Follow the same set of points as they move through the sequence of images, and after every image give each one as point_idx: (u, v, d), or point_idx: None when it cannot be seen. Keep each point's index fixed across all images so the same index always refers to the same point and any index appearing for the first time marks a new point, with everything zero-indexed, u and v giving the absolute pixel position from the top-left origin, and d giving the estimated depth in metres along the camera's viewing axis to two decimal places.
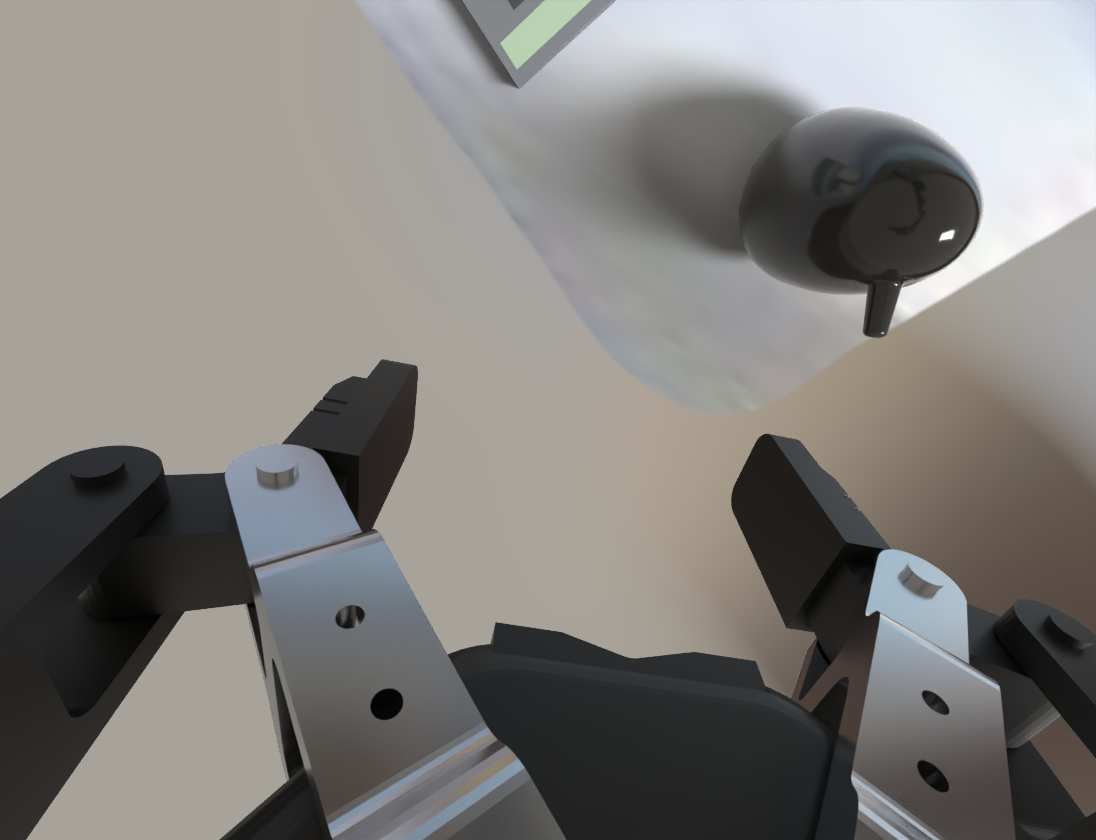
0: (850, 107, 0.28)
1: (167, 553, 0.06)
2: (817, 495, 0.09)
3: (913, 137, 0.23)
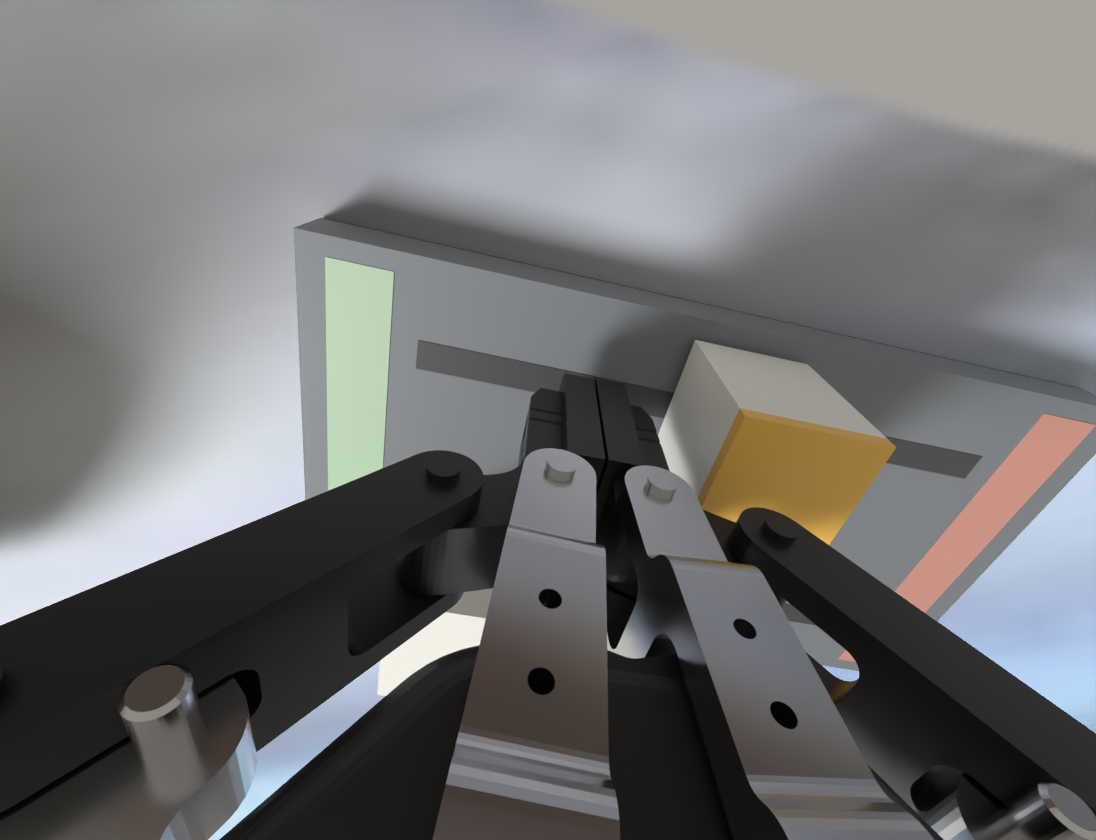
0: None
1: (489, 540, 0.07)
2: (608, 425, 0.10)
3: None
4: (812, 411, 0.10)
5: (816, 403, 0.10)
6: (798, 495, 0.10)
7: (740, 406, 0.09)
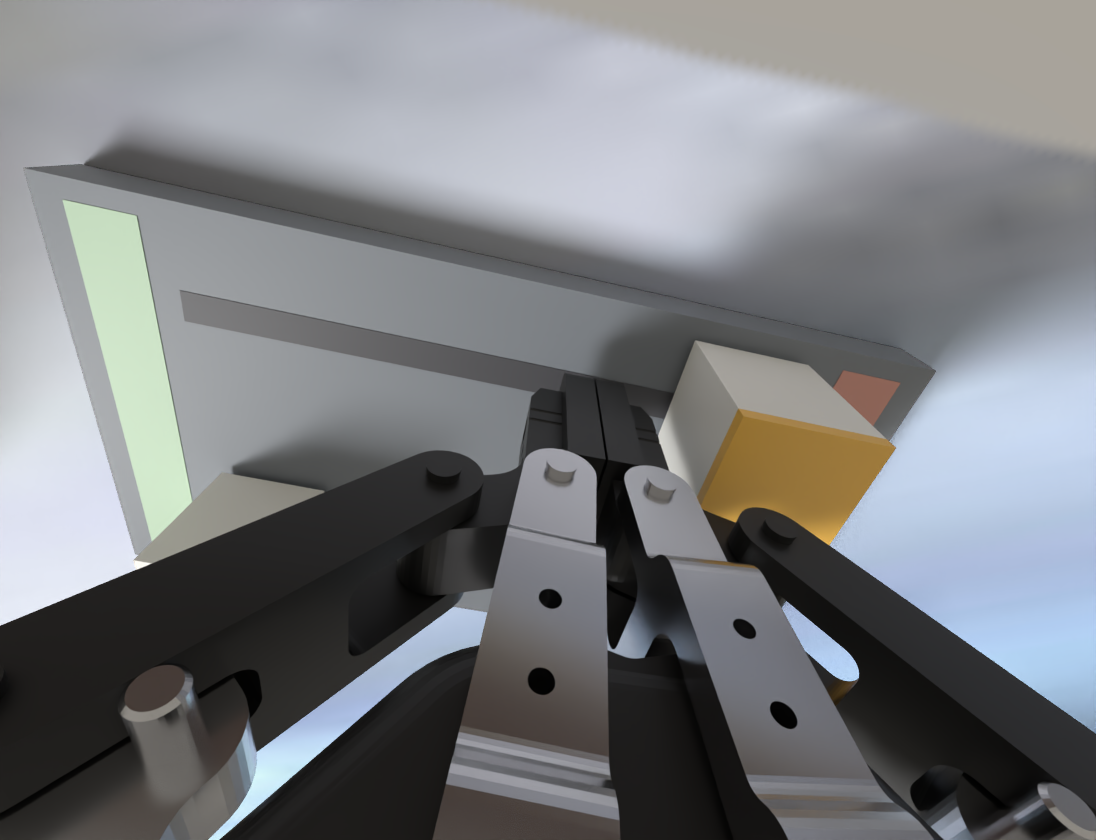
0: None
1: (489, 540, 0.07)
2: (608, 425, 0.10)
3: None
4: (812, 412, 0.10)
5: (816, 404, 0.10)
6: (797, 496, 0.10)
7: (739, 406, 0.09)
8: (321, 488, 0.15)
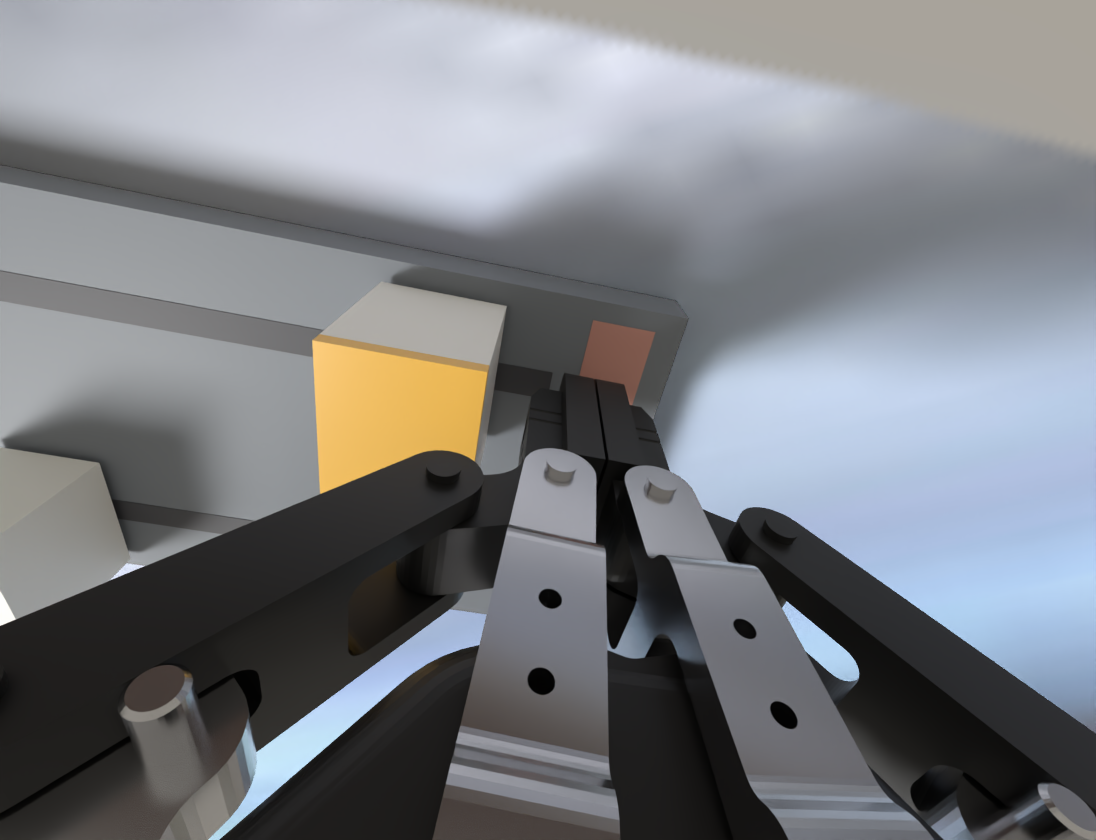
0: None
1: (489, 540, 0.07)
2: (609, 425, 0.10)
3: None
4: (425, 341, 0.09)
5: (446, 335, 0.10)
6: (411, 430, 0.09)
7: (323, 332, 0.09)
8: (99, 460, 0.15)
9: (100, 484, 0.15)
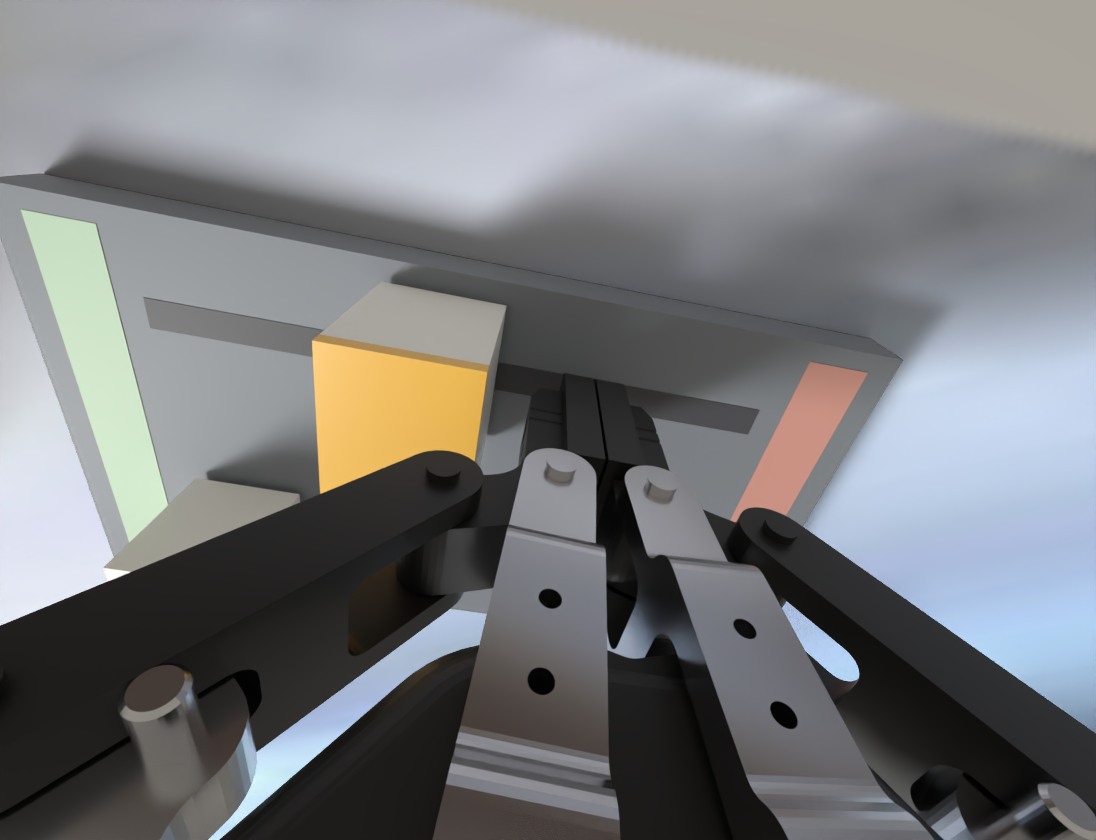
0: None
1: (489, 540, 0.07)
2: (609, 425, 0.10)
3: None
4: (425, 340, 0.09)
5: (446, 334, 0.10)
6: (411, 430, 0.09)
7: (323, 332, 0.09)
8: (296, 491, 0.15)
9: None
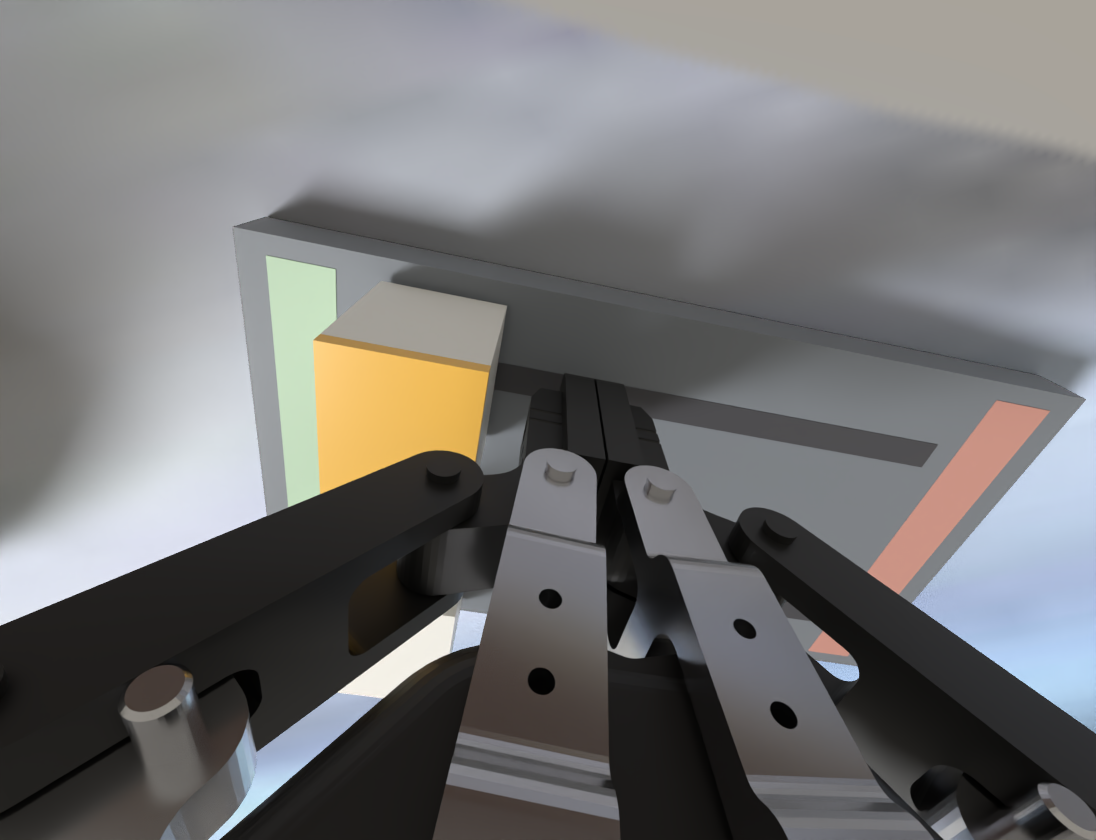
0: None
1: (489, 540, 0.07)
2: (608, 425, 0.10)
3: None
4: (426, 340, 0.09)
5: (447, 334, 0.10)
6: (412, 430, 0.09)
7: (324, 332, 0.09)
8: None
9: None
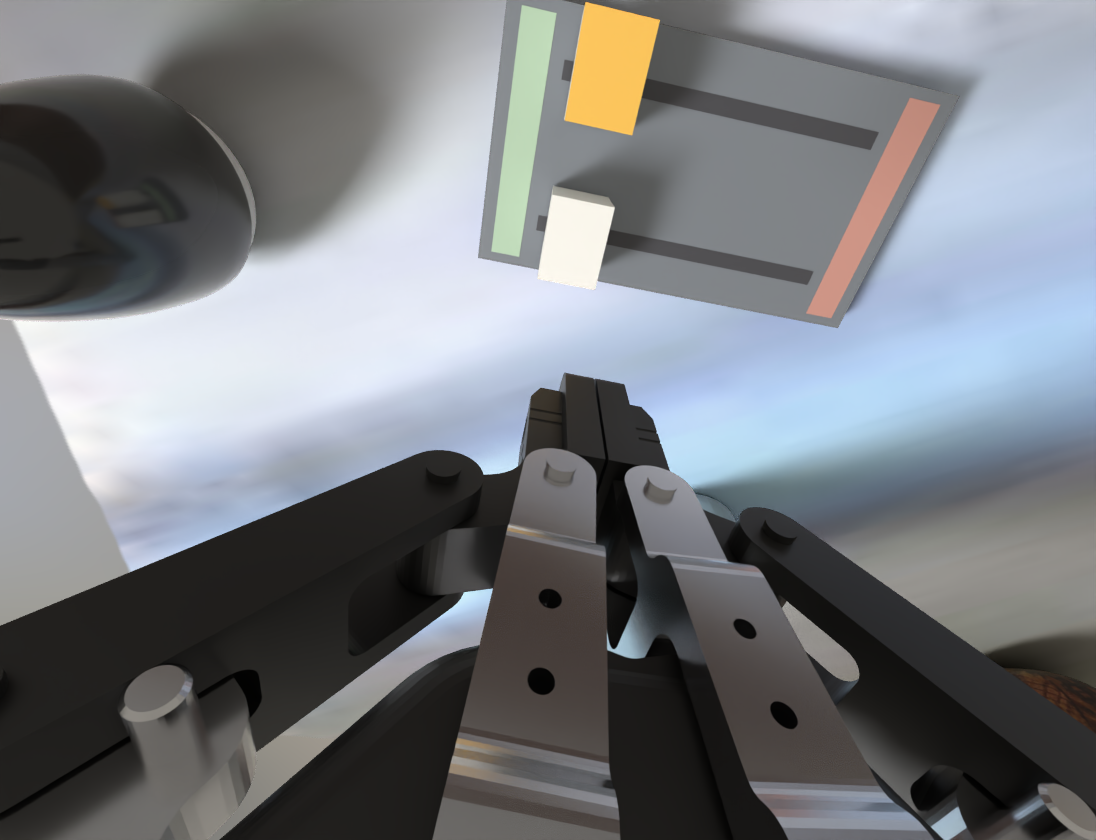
0: (228, 275, 0.26)
1: (489, 540, 0.07)
2: (609, 425, 0.10)
3: (100, 293, 0.20)
4: None
5: None
6: (619, 57, 0.20)
7: (585, 3, 0.19)
8: None
9: None
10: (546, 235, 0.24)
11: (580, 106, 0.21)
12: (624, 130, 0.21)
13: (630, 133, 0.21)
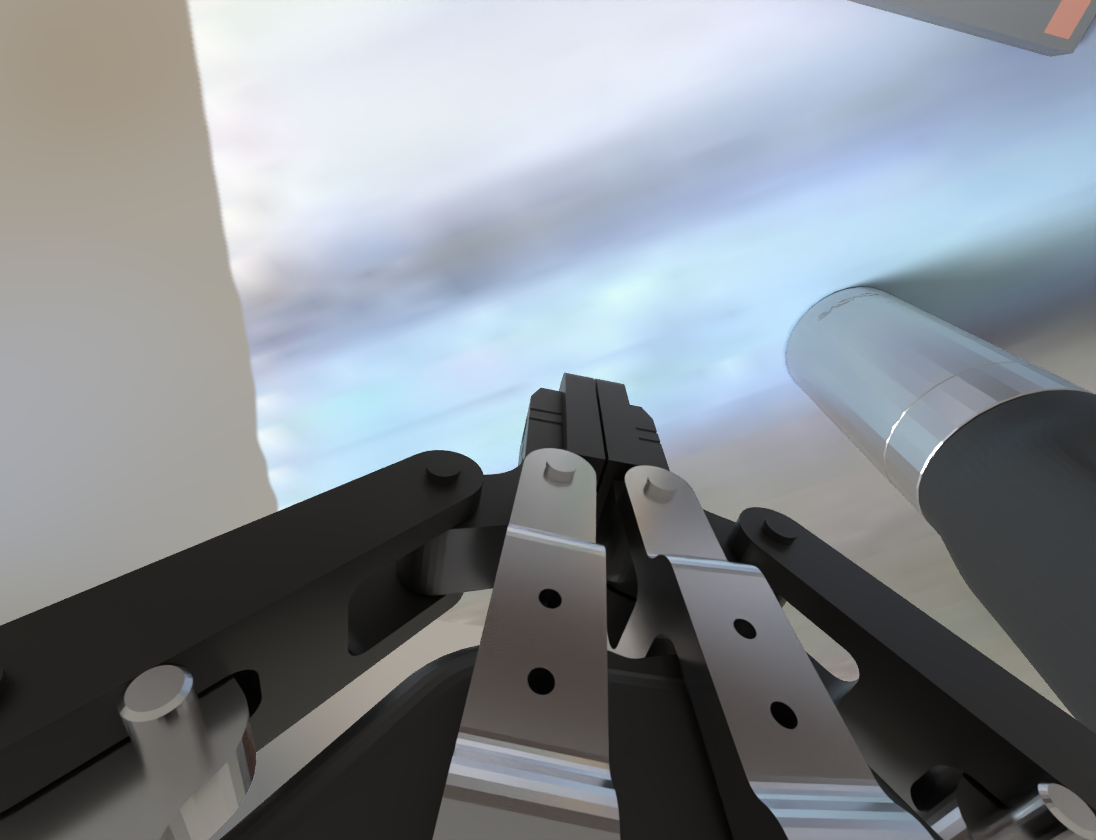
0: None
1: (489, 540, 0.07)
2: (609, 425, 0.10)
3: None
4: None
5: None
6: None
7: None
8: None
9: None
10: None
11: None
12: None
13: None
